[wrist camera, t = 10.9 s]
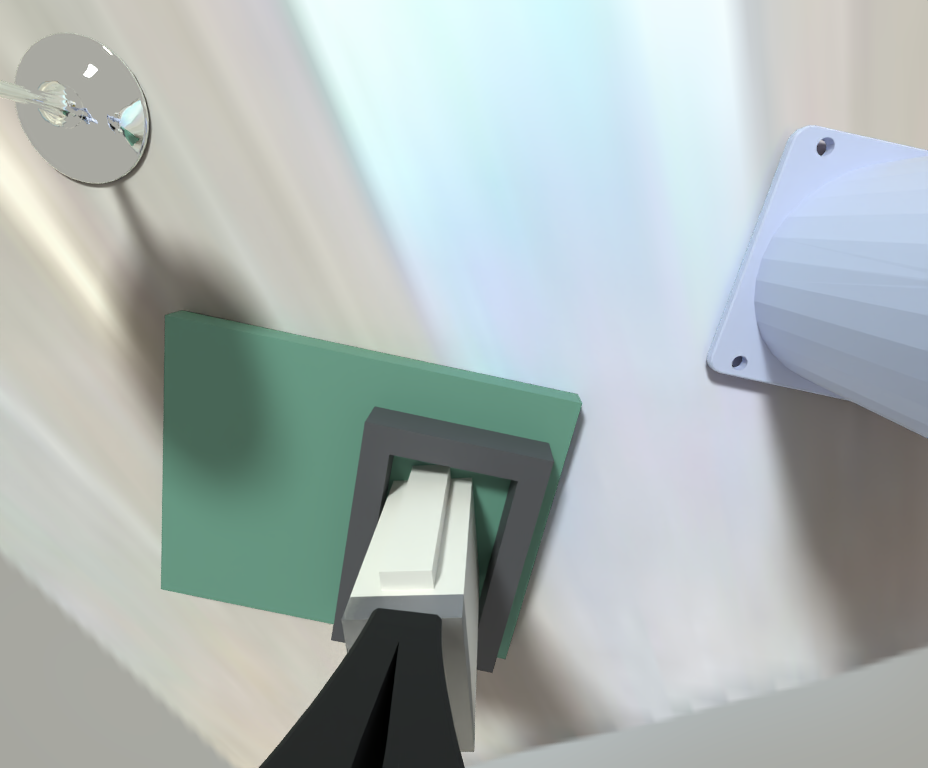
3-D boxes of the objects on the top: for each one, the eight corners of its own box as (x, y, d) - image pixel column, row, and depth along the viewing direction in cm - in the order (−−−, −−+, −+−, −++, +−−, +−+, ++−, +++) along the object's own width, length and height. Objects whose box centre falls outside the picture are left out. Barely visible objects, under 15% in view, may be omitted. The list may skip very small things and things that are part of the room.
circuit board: (577, 394, 19) (590, 418, 16) (504, 640, 22) (506, 690, 20) (182, 310, 18) (136, 323, 16) (175, 573, 22) (137, 615, 20)
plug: (479, 576, 20) (473, 751, 13) (406, 578, 20) (365, 751, 14) (470, 463, 19) (460, 597, 12) (391, 466, 19) (337, 600, 12)
